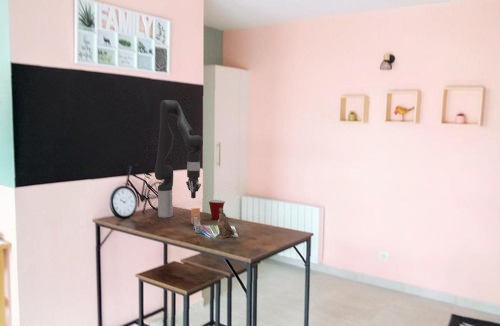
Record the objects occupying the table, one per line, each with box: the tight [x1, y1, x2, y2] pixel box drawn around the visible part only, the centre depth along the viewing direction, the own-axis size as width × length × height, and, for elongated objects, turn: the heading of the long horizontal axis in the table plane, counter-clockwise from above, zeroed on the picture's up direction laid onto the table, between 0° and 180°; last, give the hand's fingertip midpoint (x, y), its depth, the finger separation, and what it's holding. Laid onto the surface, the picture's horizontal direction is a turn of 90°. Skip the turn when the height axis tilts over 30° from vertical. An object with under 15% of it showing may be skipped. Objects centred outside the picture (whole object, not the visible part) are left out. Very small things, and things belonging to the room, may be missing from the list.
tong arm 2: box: [196, 218, 202, 234], centre depth 244 cm, size 18×1×4 cm, turn 11°
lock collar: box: [190, 207, 201, 225], centre depth 255 cm, size 3×5×9 cm, turn 101°
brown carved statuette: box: [215, 208, 235, 240], centre depth 227 cm, size 12×6×18 cm, turn 143°
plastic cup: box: [208, 199, 226, 221], centre depth 269 cm, size 11×11×12 cm
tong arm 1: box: [193, 218, 199, 234], centre depth 244 cm, size 18×1×4 cm, turn 11°
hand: (193, 198), depth 253 cm, fingers closed
